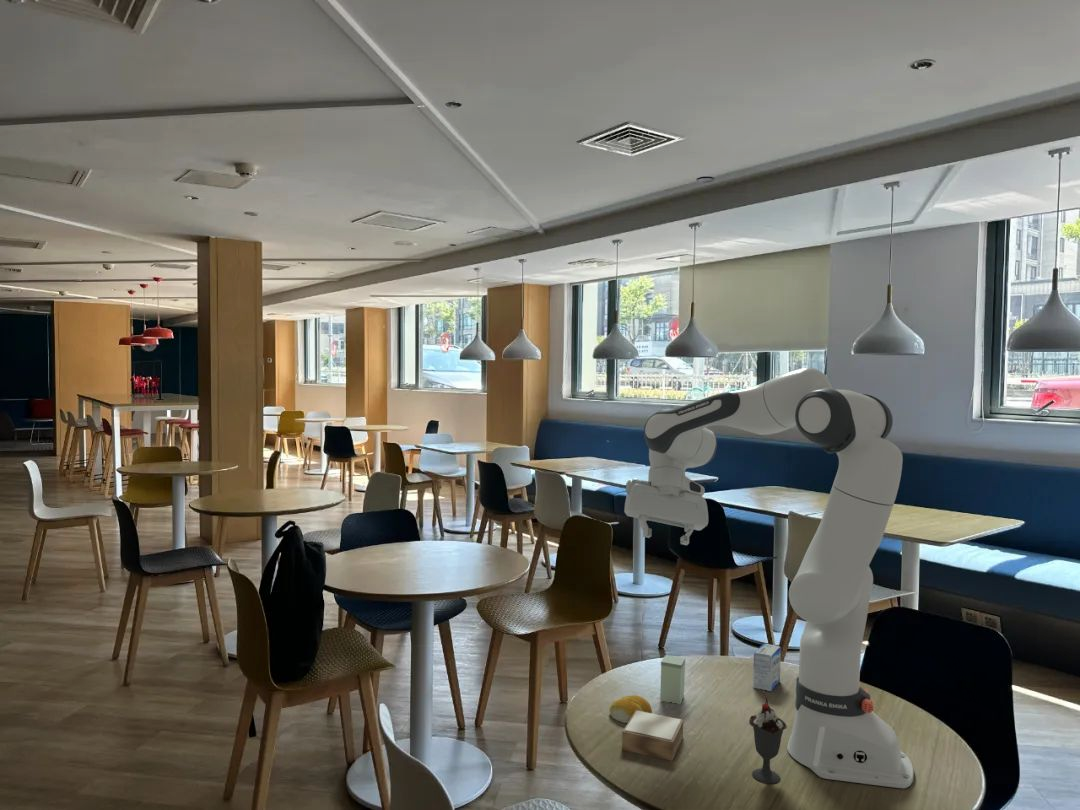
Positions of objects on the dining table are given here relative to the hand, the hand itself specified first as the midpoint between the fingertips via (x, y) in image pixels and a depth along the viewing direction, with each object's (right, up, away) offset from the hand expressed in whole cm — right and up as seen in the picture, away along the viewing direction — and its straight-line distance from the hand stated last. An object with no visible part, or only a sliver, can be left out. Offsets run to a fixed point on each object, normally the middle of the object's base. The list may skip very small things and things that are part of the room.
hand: (666, 540), depth 169 cm
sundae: (+13, -38, -34) cm, 52 cm away
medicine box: (+25, -36, +7) cm, 45 cm away
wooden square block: (-7, -37, -23) cm, 44 cm away
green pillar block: (+1, -36, -2) cm, 36 cm away
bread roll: (-10, -36, -11) cm, 39 cm away
